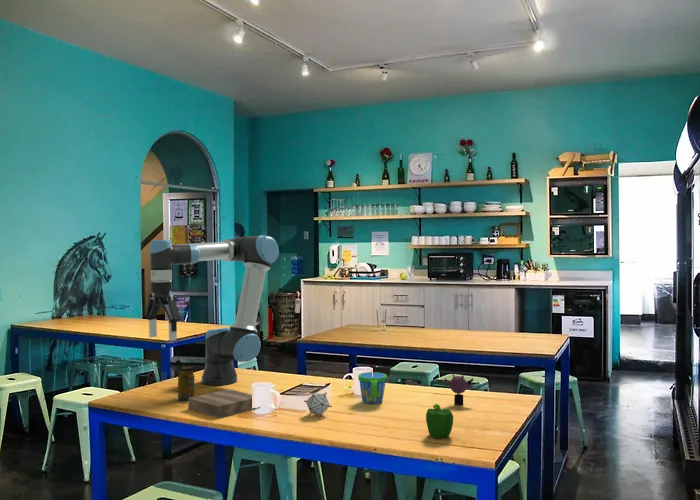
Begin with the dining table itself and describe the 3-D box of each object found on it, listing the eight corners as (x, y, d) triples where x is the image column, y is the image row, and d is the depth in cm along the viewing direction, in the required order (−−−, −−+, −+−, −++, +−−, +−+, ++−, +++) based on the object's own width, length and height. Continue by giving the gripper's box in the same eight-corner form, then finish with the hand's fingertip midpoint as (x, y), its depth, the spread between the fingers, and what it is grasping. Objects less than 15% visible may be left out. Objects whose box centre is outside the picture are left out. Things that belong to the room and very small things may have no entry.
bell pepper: (441, 430, 184) (441, 398, 185) (458, 437, 177) (458, 404, 177) (419, 434, 180) (419, 401, 181) (435, 442, 173) (435, 407, 173)
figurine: (474, 404, 216) (474, 371, 216) (460, 408, 211) (460, 374, 211) (457, 400, 222) (457, 368, 222) (443, 403, 217) (442, 371, 217)
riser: (229, 399, 225) (229, 389, 225) (260, 407, 213) (260, 396, 213) (188, 409, 211) (188, 397, 211) (219, 418, 199) (219, 406, 199)
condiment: (191, 396, 231) (191, 365, 231) (200, 400, 225) (200, 368, 225) (173, 398, 227) (173, 367, 227) (182, 403, 220) (182, 370, 220)
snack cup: (386, 407, 212) (386, 379, 212) (357, 407, 213) (357, 379, 213) (386, 397, 228) (386, 370, 228) (359, 397, 228) (359, 370, 228)
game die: (323, 425, 203) (341, 402, 203) (309, 422, 196) (327, 398, 196) (309, 408, 209) (326, 386, 208) (294, 404, 202) (312, 381, 202)
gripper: (134, 281, 225) (136, 336, 225) (170, 283, 208) (172, 343, 209) (152, 279, 230) (154, 334, 231) (189, 281, 214) (190, 340, 214)
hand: (162, 338), depth 220 cm, fingers open, 13 cm apart
